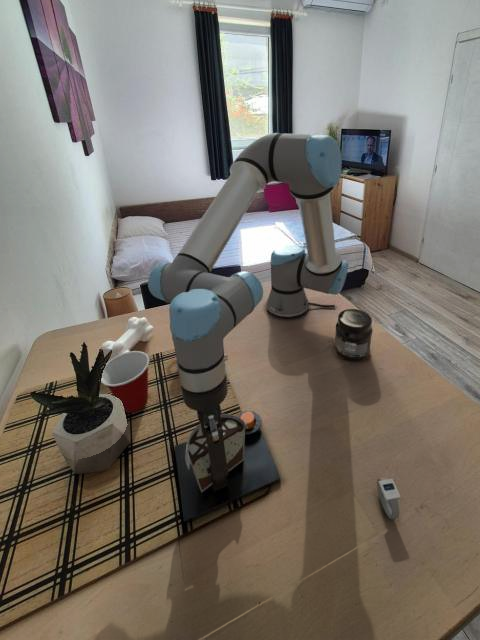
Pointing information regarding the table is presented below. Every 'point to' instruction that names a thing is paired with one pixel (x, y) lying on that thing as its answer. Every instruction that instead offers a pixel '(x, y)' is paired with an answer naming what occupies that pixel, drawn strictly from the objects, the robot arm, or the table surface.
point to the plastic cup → (128, 379)
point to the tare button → (248, 419)
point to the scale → (228, 476)
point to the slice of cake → (200, 455)
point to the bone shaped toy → (129, 337)
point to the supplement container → (353, 335)
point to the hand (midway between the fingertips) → (215, 465)
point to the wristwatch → (389, 496)
